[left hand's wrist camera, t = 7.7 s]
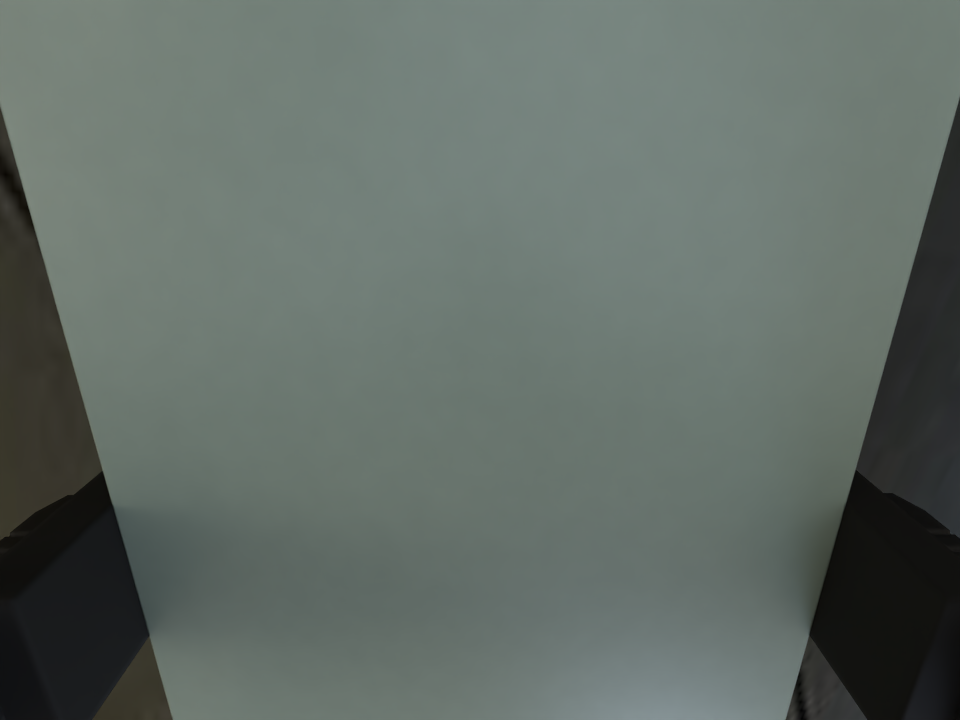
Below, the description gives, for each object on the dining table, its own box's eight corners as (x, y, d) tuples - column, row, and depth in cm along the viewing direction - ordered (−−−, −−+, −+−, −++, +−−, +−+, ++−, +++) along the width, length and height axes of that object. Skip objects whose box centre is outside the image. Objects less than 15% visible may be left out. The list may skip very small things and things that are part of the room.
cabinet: (256, -164, 14) (-311, -983, 4) (699, -163, 14) (1262, -973, 4) (325, 441, 20) (173, 725, 10) (632, 441, 20) (785, 723, 10)
